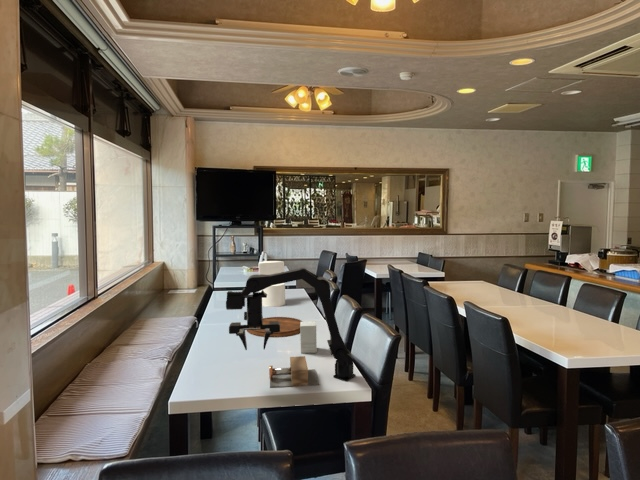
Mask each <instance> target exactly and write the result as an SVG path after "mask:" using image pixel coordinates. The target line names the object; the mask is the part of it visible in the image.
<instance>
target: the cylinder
mask: <svg viewBox="0 0 640 480" xmlns="http://www.w3.org/2000/svg"><path fill="white" fill-rule="evenodd" d="M281 272H285V262H284V261H283V260H282V261H281V260H266V261H264V260H263V261H260V262H258V275H261V274H263V275H271V274H276V273H281ZM261 291H262V290H261ZM261 291H258V292H261ZM263 291H264V292H265V293H266V294H267V297H266V298H262V307H263V308H264V307H265V308H276V307H283V306H285V305H286V283H281V284H276V285H272V286H269V287H267V288H265V289H263Z"/></svg>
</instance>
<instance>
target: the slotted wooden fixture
mask: <svg viewBox="0 0 640 480" xmlns="http://www.w3.org/2000/svg"><path fill="white" fill-rule="evenodd" d="M289 368H291V375H274V376H273V378H269V388H270V389H271V388H286V387H287V388H289V387H291V388H292V387H307V386H319V385H320V382H319V379H318V375H317V372H316V368H315V369H309V368H308V363H307V359H306V356H305V355H303V356H302V355H301V356H290V357H289Z"/></svg>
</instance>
